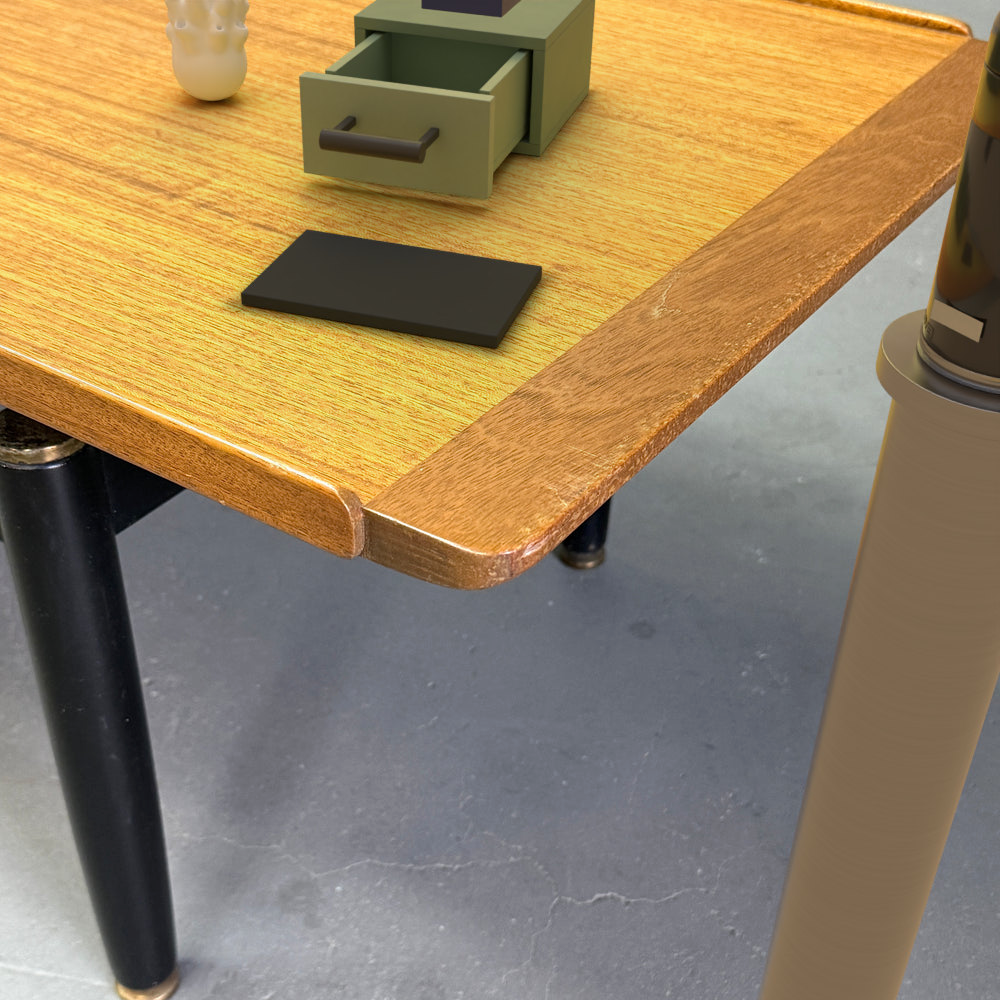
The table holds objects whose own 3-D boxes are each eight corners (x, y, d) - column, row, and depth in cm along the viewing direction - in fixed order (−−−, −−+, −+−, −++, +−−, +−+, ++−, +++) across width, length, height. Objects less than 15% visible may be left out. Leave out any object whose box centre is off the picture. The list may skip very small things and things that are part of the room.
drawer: (466, 226, 91) (468, 124, 88) (275, 197, 94) (269, 97, 90) (543, 130, 107) (547, 40, 103) (376, 108, 110) (375, 19, 106)
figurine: (172, 84, 116) (156, -68, 109) (253, 82, 117) (243, -69, 110) (171, 113, 110) (155, -46, 103) (257, 110, 111) (246, -47, 104)
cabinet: (539, 156, 105) (546, 38, 100) (356, 131, 108) (353, 15, 103) (589, 92, 117) (596, -15, 112) (423, 71, 121) (423, -34, 116)
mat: (541, 277, 88) (542, 265, 87) (496, 348, 80) (497, 336, 79) (307, 240, 91) (306, 228, 91) (241, 305, 83) (240, 292, 83)
